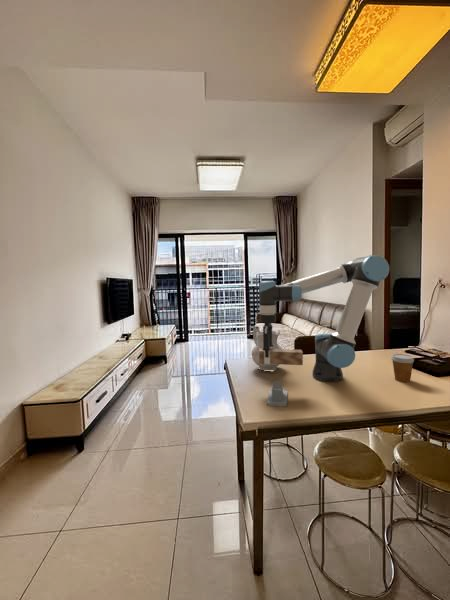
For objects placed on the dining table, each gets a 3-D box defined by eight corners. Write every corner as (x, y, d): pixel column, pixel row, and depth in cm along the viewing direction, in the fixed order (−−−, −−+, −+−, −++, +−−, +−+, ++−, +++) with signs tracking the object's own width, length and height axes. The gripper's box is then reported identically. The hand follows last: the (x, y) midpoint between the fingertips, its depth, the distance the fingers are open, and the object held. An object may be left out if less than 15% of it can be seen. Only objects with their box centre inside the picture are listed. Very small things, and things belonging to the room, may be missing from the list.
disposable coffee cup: (411, 377, 135) (412, 354, 135) (416, 384, 127) (416, 359, 126) (390, 375, 139) (389, 353, 139) (392, 382, 131) (392, 358, 130)
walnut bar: (301, 362, 129) (301, 349, 128) (302, 365, 124) (302, 352, 123) (259, 360, 132) (259, 348, 131) (259, 363, 127) (259, 351, 126)
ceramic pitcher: (243, 370, 161) (239, 330, 157) (260, 360, 175) (258, 323, 172) (274, 378, 146) (271, 334, 143) (291, 366, 161) (288, 325, 158)
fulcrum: (287, 392, 124) (287, 380, 123) (286, 406, 110) (286, 392, 110) (270, 391, 126) (269, 379, 126) (267, 405, 112) (266, 391, 112)
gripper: (262, 311, 137) (263, 356, 138) (256, 316, 119) (256, 367, 121) (277, 311, 135) (278, 356, 136) (273, 316, 117) (273, 368, 118)
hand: (268, 361), depth 128 cm, fingers closed on walnut bar, 5 cm apart
